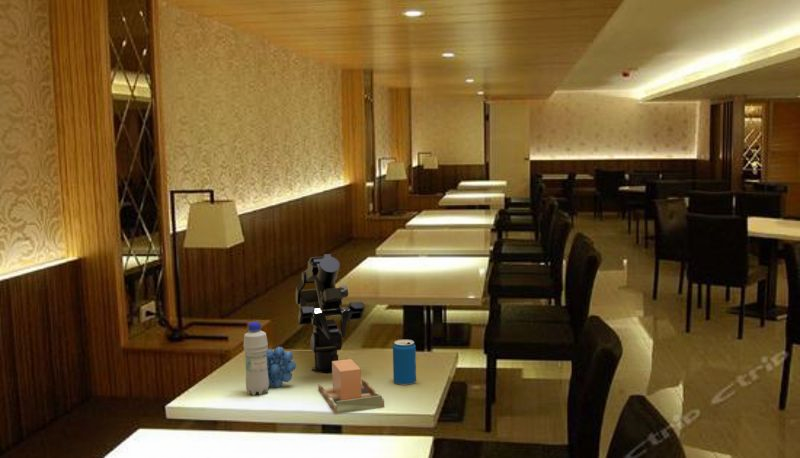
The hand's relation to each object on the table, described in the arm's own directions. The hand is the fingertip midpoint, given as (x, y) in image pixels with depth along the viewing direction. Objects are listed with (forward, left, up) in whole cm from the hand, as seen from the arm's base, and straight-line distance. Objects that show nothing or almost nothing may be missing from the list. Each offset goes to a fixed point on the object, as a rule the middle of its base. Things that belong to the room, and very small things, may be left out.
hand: (336, 337), depth 214 cm
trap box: (+10, -9, -14) cm, 19 cm away
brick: (+8, -6, -13) cm, 16 cm away
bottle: (-16, -16, -14) cm, 26 cm away
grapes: (-14, -10, -14) cm, 22 cm away
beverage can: (+16, +10, -14) cm, 23 cm away
